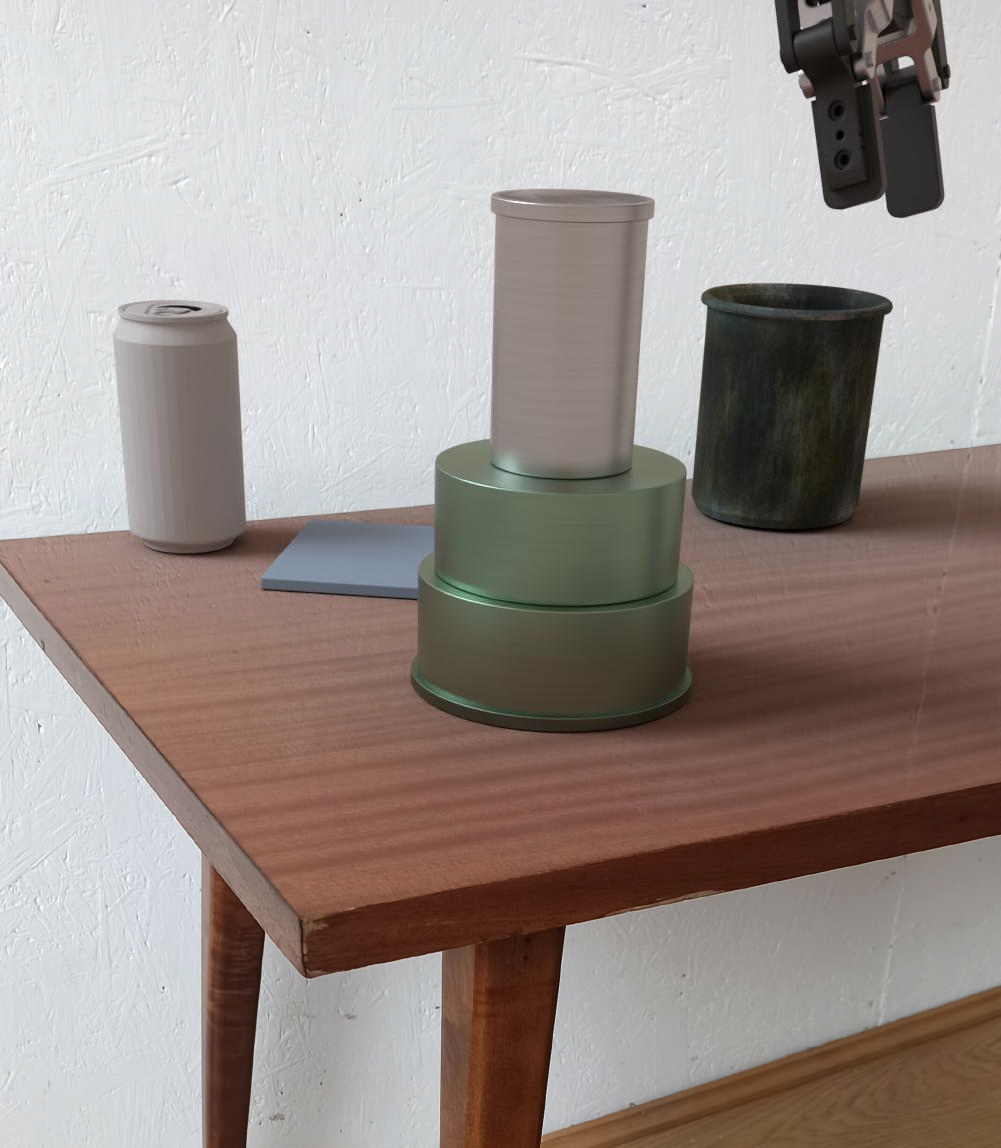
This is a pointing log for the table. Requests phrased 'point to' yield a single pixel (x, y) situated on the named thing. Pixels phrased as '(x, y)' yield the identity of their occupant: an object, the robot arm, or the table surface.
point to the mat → (352, 559)
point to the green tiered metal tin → (555, 595)
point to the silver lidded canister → (566, 330)
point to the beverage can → (180, 424)
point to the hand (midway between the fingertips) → (888, 209)
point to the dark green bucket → (785, 402)
